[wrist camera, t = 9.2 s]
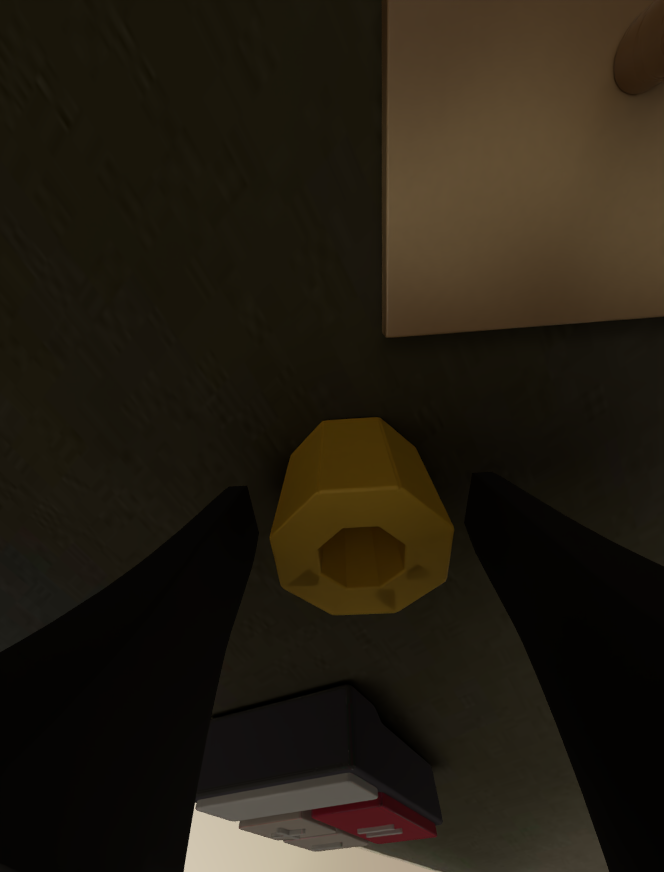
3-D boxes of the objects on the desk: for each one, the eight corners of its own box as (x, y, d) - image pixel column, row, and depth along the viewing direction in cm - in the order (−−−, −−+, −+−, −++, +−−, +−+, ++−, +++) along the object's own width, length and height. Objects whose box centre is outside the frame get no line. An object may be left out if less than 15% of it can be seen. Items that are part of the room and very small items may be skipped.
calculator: (311, 858, 23) (177, 821, 17) (314, 776, 27) (204, 719, 20) (449, 842, 21) (355, 791, 14) (430, 755, 25) (349, 681, 18)
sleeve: (412, 516, 12) (443, 612, 9) (300, 522, 13) (287, 617, 9) (418, 413, 10) (462, 483, 7) (284, 422, 10) (258, 494, 7)
